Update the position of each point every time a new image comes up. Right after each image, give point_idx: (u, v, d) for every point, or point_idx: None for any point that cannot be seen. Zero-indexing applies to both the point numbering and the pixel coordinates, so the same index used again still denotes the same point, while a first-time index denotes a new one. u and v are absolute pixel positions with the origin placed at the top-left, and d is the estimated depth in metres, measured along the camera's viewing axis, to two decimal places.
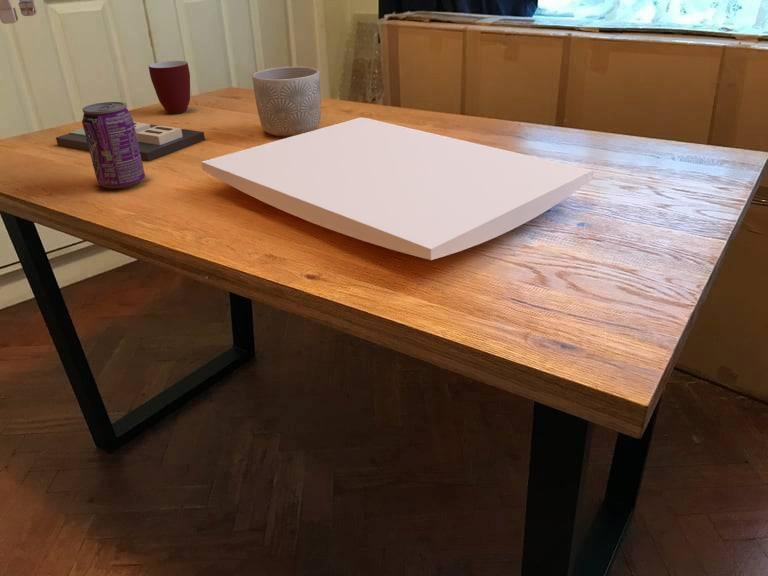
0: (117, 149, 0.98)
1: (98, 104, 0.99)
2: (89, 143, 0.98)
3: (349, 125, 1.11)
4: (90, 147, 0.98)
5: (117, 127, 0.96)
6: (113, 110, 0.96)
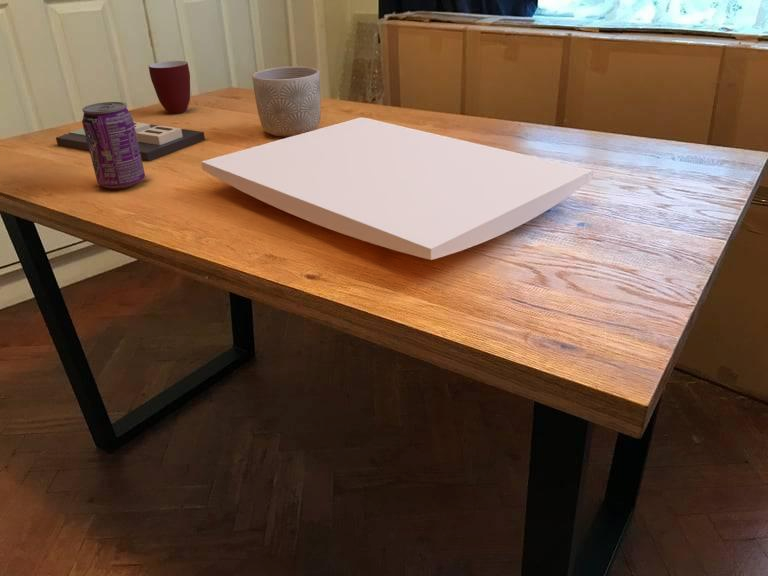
0: (117, 149, 0.98)
1: (98, 104, 0.99)
2: (89, 143, 0.98)
3: (349, 125, 1.11)
4: (90, 147, 0.98)
5: (117, 127, 0.96)
6: (113, 110, 0.96)
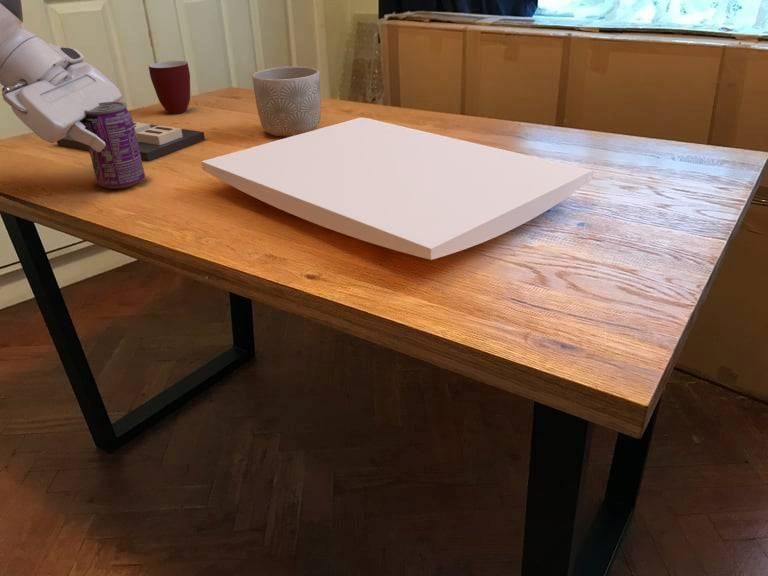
0: (117, 149, 0.98)
1: None
2: None
3: (349, 125, 1.11)
4: (90, 147, 0.98)
5: (117, 127, 0.96)
6: (113, 110, 0.96)
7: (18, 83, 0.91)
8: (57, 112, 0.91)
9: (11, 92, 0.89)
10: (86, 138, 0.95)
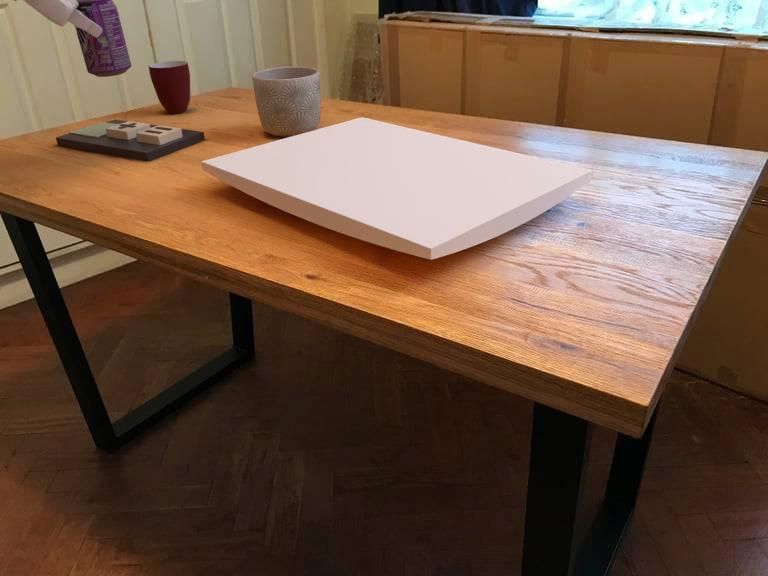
0: (111, 35, 1.07)
1: None
2: (83, 32, 1.06)
3: (349, 125, 1.11)
4: (84, 36, 1.06)
5: (110, 14, 1.06)
6: None
7: None
8: None
9: None
10: (85, 24, 1.03)
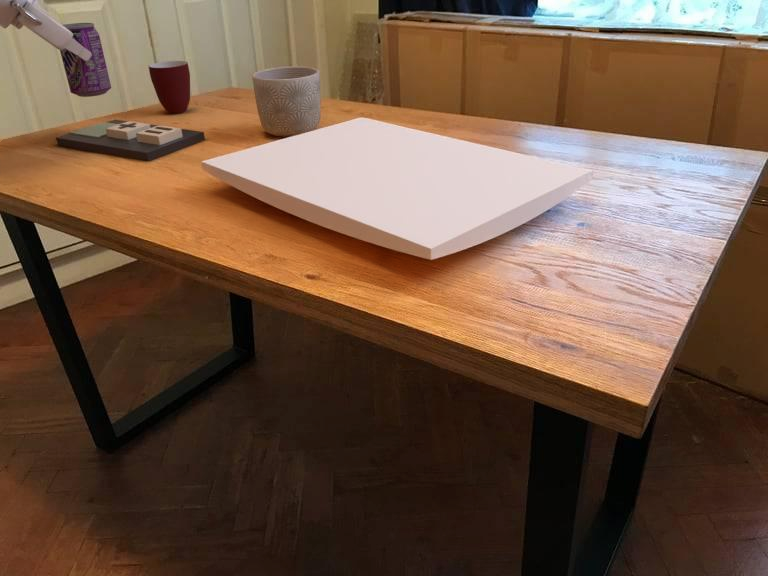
0: (97, 58, 1.18)
1: None
2: (71, 56, 1.16)
3: (349, 125, 1.11)
4: (72, 59, 1.16)
5: (96, 39, 1.17)
6: (90, 25, 1.16)
7: (17, 2, 1.06)
8: None
9: (22, 7, 1.05)
10: (77, 48, 1.14)
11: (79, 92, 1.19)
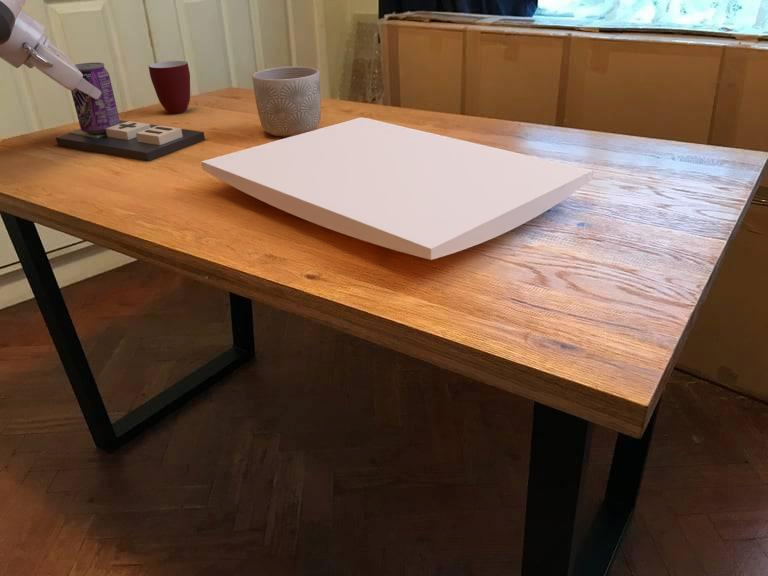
0: (107, 98, 1.21)
1: None
2: (81, 96, 1.19)
3: (349, 125, 1.11)
4: (82, 99, 1.19)
5: (106, 79, 1.20)
6: (101, 66, 1.19)
7: (29, 44, 1.09)
8: (71, 65, 1.12)
9: (34, 50, 1.08)
10: (87, 88, 1.16)
11: (89, 130, 1.22)
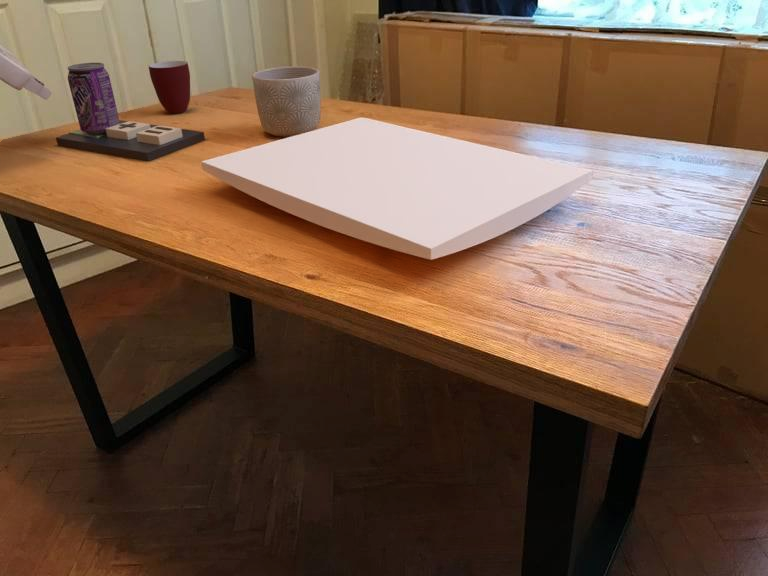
0: (106, 98, 1.20)
1: (73, 66, 1.20)
2: (81, 96, 1.19)
3: (349, 125, 1.11)
4: (82, 100, 1.19)
5: (105, 80, 1.20)
6: (100, 66, 1.19)
7: None
8: (18, 64, 1.09)
9: None
10: (36, 88, 1.14)
11: (89, 130, 1.22)
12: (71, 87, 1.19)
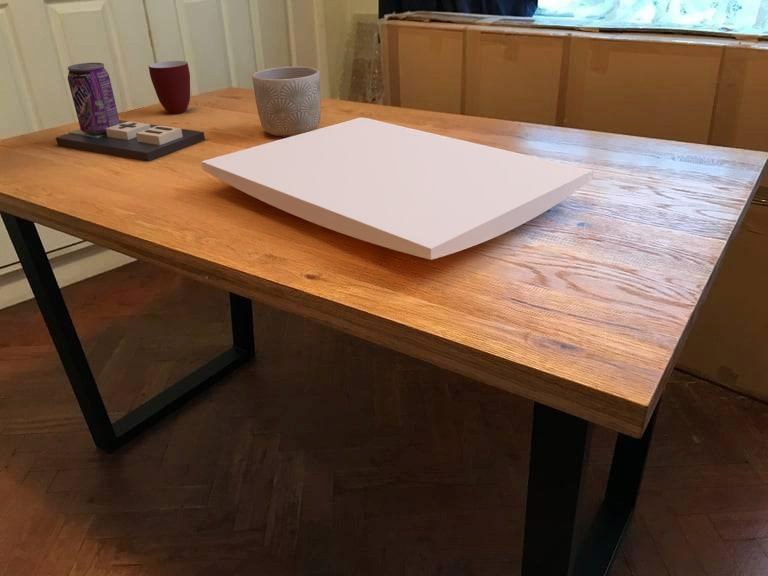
0: (106, 98, 1.20)
1: (73, 66, 1.20)
2: (81, 96, 1.19)
3: (349, 125, 1.11)
4: (82, 100, 1.19)
5: (105, 80, 1.20)
6: (100, 66, 1.19)
7: None
8: None
9: None
10: None
11: (89, 131, 1.22)
12: (71, 87, 1.19)
